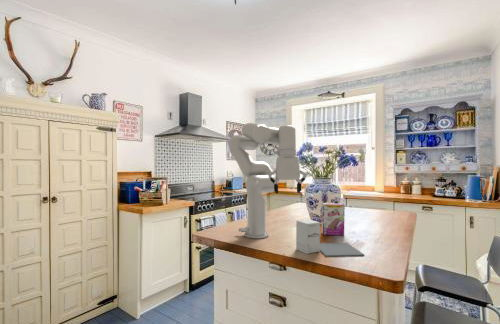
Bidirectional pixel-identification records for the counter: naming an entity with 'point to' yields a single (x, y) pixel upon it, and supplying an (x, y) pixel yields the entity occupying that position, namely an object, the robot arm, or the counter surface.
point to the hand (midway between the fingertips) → (287, 193)
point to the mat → (339, 250)
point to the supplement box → (308, 236)
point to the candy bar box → (333, 219)
